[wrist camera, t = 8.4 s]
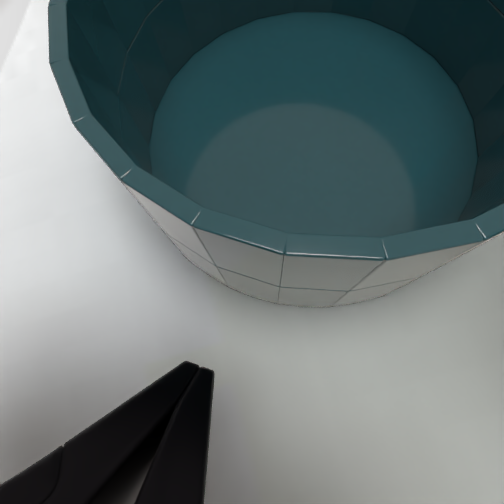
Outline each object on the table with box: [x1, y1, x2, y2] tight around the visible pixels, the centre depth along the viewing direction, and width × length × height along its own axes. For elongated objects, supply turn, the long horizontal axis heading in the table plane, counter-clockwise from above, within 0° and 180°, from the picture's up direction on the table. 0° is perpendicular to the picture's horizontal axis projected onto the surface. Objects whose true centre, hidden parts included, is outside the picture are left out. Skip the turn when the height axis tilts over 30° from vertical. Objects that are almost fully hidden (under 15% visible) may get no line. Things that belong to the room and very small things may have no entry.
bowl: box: [48, 0, 504, 307], centre depth 15 cm, size 18×18×8 cm
